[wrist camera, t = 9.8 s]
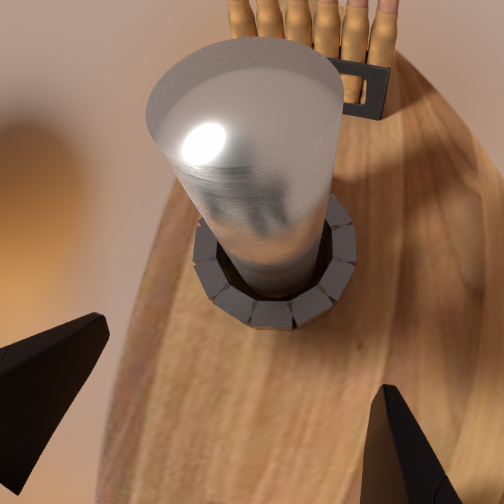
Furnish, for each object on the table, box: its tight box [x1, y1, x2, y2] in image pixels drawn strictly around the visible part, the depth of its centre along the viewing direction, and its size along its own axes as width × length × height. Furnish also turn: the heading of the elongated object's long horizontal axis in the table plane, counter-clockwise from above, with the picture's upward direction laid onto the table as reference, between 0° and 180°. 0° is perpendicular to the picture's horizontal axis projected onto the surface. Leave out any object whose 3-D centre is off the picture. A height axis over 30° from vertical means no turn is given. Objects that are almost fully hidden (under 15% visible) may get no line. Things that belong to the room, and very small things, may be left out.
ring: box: [193, 192, 357, 331], centre depth 17 cm, size 8×8×2 cm
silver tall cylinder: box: [146, 37, 344, 298], centre depth 12 cm, size 4×4×12 cm
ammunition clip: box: [227, 0, 399, 121], centre depth 16 cm, size 11×2×12 cm, turn 77°
